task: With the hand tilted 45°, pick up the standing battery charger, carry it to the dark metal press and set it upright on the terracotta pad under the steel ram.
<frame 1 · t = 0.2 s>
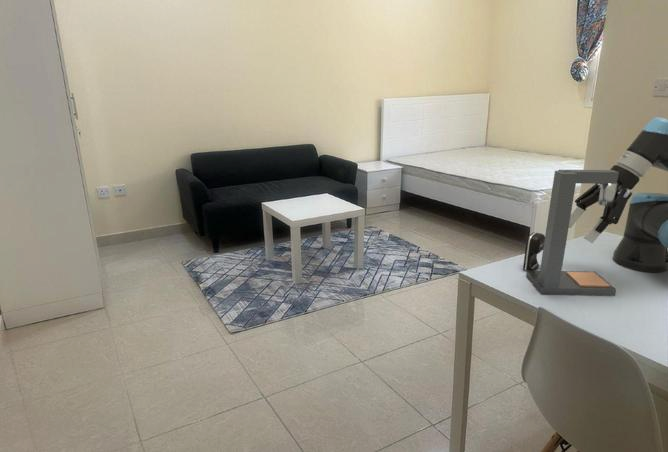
hand: (576, 233, 132), 15 cm above the table, tool tilted 30°, fingers open, 13 cm apart
arbor press: (568, 285, 132), on the table
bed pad: (587, 279, 131), resting on arbor press
battery charger: (532, 269, 144), on the table
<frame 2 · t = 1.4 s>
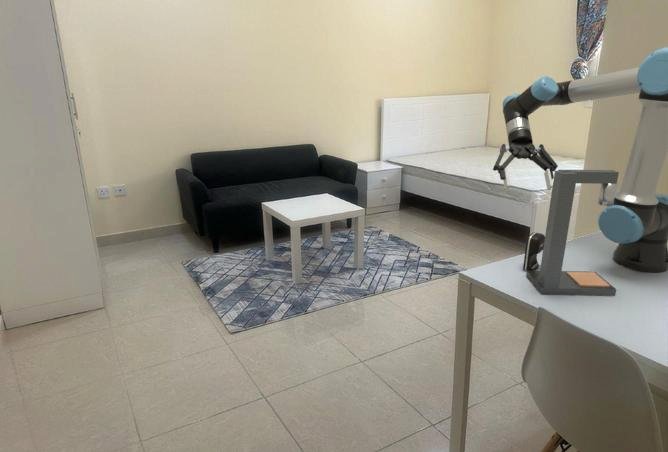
hand: (528, 188, 147), 23 cm above the table, tool tilted 45°, fingers open, 13 cm apart
nothing on the table moved.
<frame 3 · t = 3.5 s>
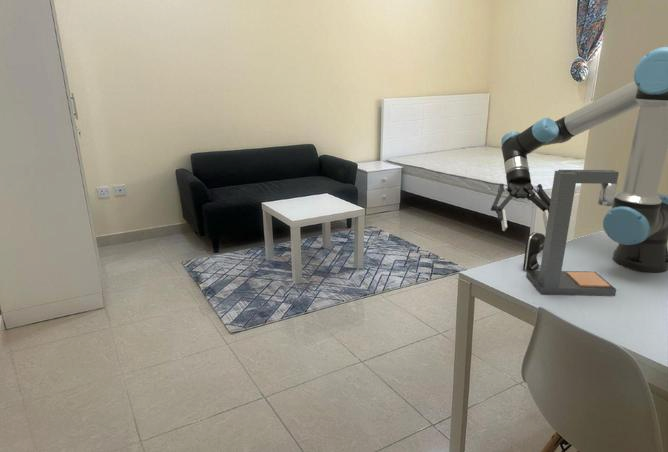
hand: (526, 229, 147), 11 cm above the table, tool tilted 45°, fingers open, 13 cm apart
nothing on the table moved.
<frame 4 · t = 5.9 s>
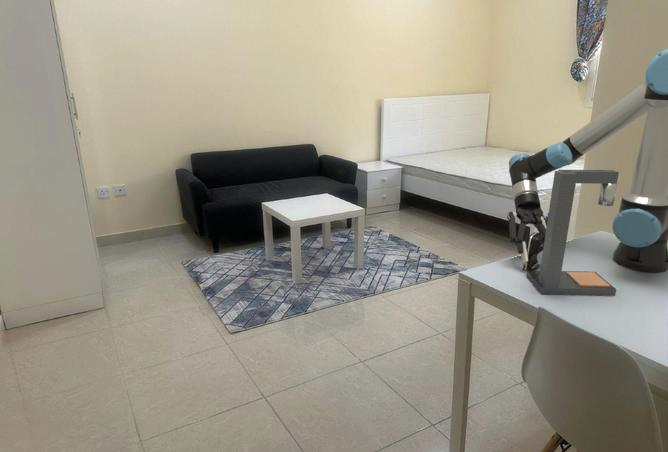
hand: (537, 262, 139), 4 cm above the table, tool tilted 45°, fingers closed on battery charger, 6 cm apart
battery charger: (532, 269, 144), on the table, touching gripper
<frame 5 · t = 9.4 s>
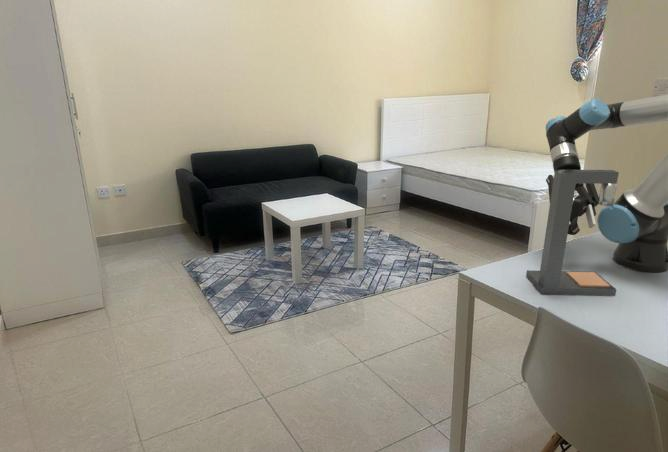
hand: (579, 225, 135), 15 cm above the table, tool tilted 45°, fingers closed on battery charger, 6 cm apart
battery charger: (572, 233, 140), point 12 cm above the table, touching gripper
when the fingers open (7 cm above the table, at t = 12.6 s): battery charger drops 1 cm, resting on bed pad.
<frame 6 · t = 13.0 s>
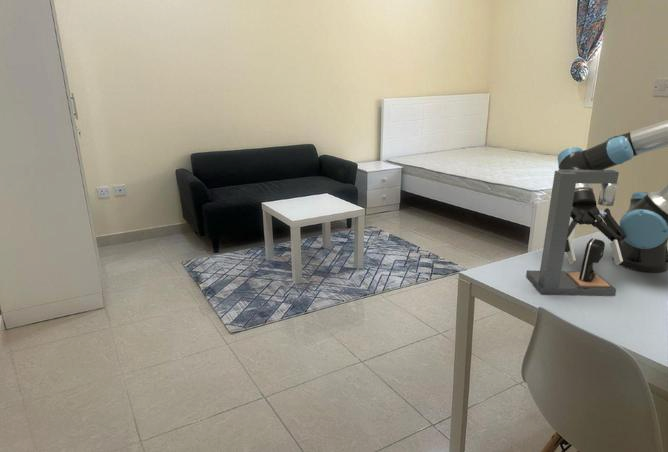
hand: (595, 262, 127), 8 cm above the table, tool tilted 45°, fingers open, 12 cm apart
battery charger: (588, 278, 131), point 2 cm above the table, touching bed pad
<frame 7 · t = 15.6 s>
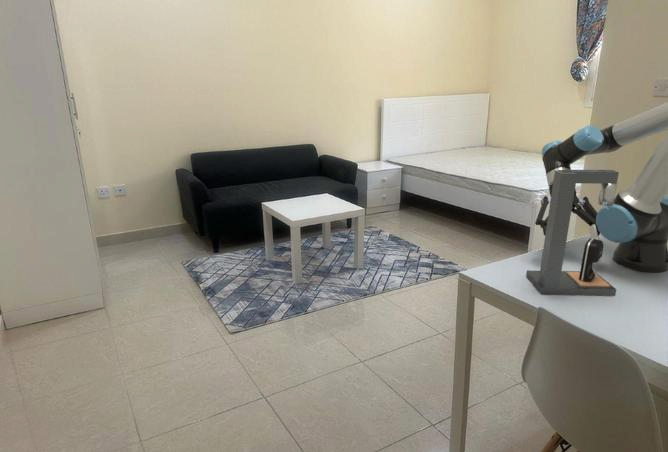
hand: (574, 245, 139), 9 cm above the table, tool tilted 45°, fingers open, 13 cm apart
nothing on the table moved.
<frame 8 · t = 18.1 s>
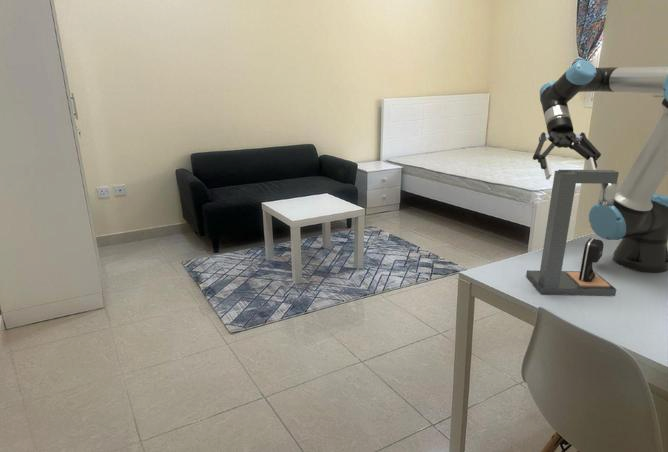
hand: (571, 177, 142), 28 cm above the table, tool tilted 45°, fingers open, 13 cm apart
nothing on the table moved.
at the end: battery charger inside the target area (0.3 cm from its centre), point 2.2 cm above the table; battery charger tilted 0°; the gripper is holding nothing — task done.
